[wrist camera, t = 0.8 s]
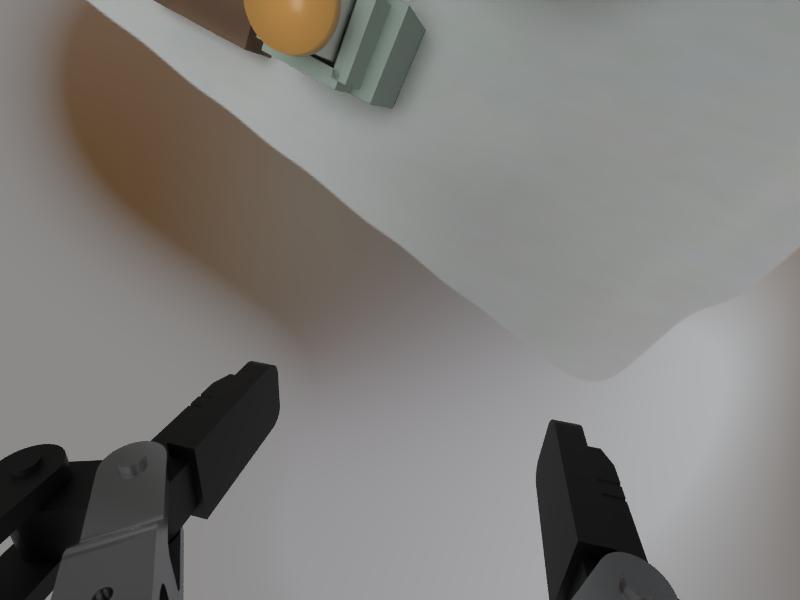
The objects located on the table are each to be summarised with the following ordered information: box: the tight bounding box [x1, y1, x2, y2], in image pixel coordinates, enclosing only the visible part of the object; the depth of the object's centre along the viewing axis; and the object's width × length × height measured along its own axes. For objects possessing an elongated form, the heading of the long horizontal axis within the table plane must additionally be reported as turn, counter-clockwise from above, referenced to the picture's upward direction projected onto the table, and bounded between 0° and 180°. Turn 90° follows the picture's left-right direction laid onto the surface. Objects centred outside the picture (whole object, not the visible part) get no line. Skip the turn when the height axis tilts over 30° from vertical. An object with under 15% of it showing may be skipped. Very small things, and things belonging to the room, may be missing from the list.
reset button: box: [244, 0, 355, 62], centre depth 22 cm, size 5×5×4 cm
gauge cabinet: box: [257, 0, 425, 108], centre depth 28 cm, size 6×8×10 cm
